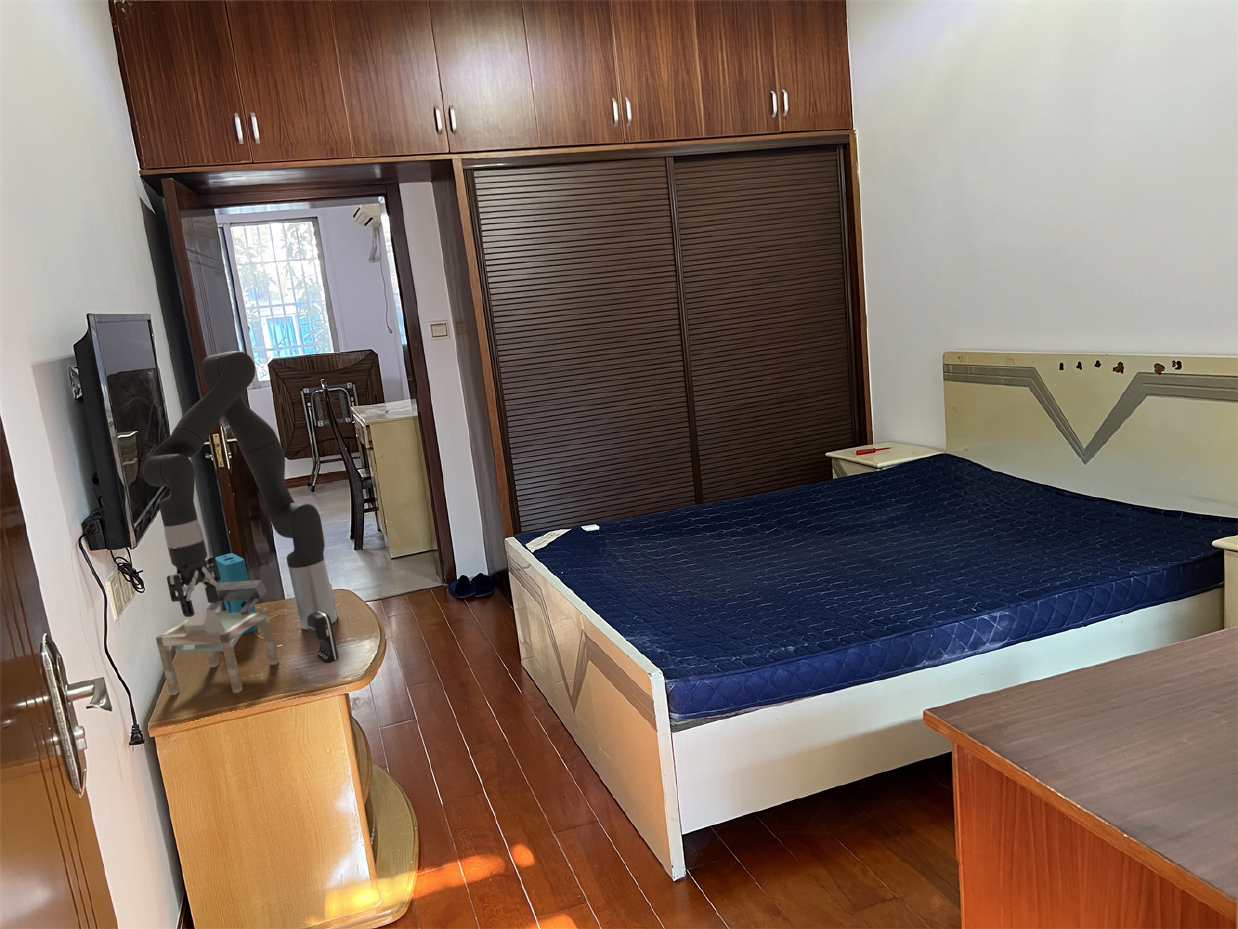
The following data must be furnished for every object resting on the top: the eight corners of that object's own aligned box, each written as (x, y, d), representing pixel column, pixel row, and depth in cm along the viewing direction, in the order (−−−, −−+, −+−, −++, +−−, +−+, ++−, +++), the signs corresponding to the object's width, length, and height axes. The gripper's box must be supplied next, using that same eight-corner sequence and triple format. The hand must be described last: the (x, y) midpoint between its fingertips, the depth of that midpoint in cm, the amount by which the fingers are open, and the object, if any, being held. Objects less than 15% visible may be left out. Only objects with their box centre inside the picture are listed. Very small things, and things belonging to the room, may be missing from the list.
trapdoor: (220, 596, 224) (212, 583, 221) (270, 593, 220) (263, 579, 218) (177, 653, 207) (168, 639, 205) (230, 650, 204) (222, 636, 202)
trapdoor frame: (214, 664, 222) (201, 611, 219) (278, 662, 218) (266, 607, 215) (170, 695, 207) (155, 638, 204) (239, 692, 203) (225, 634, 200)
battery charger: (313, 658, 217) (303, 613, 215) (328, 652, 220) (319, 608, 217) (324, 665, 212) (314, 619, 210) (339, 659, 214) (330, 614, 212)
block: (261, 630, 243) (245, 559, 239) (242, 637, 240) (225, 565, 236) (247, 621, 252) (231, 552, 248) (229, 627, 249) (212, 558, 245)
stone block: (206, 630, 211) (195, 610, 208) (225, 629, 210) (214, 609, 207) (195, 645, 207) (183, 625, 204) (214, 644, 206) (202, 624, 203)
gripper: (191, 533, 211) (207, 598, 214) (149, 552, 197) (166, 622, 201) (219, 530, 209) (235, 597, 212) (178, 550, 196) (195, 620, 199)
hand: (201, 609), depth 207 cm, fingers open, 8 cm apart
